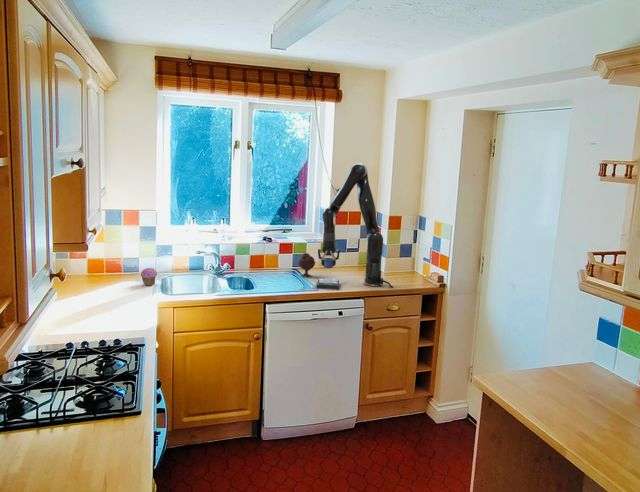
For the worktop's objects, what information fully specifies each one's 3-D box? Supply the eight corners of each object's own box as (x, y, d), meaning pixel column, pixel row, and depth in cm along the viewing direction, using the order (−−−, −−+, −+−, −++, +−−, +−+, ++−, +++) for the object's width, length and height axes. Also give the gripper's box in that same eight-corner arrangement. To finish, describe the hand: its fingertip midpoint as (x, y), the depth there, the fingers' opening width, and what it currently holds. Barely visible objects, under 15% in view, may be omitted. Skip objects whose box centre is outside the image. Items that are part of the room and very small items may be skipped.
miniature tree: (295, 277, 299) (296, 254, 297) (301, 273, 309) (301, 251, 307) (311, 278, 296) (312, 255, 294) (316, 275, 306) (317, 252, 304)
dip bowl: (333, 266, 295) (333, 258, 295) (333, 268, 289) (333, 260, 288) (323, 266, 296) (323, 257, 295) (323, 268, 290) (323, 259, 289)
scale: (339, 283, 286) (339, 279, 286) (338, 289, 274) (338, 284, 273) (318, 282, 288) (318, 278, 287) (316, 288, 275) (316, 283, 274)
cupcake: (160, 284, 272) (159, 267, 271) (150, 287, 264) (150, 270, 263) (147, 282, 275) (147, 265, 274) (137, 285, 267) (137, 268, 266)
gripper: (317, 240, 287) (316, 266, 289) (340, 240, 286) (339, 267, 288) (318, 238, 294) (317, 264, 297) (340, 238, 293) (340, 264, 295)
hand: (328, 265), depth 292 cm, fingers closed on dip bowl, 6 cm apart
